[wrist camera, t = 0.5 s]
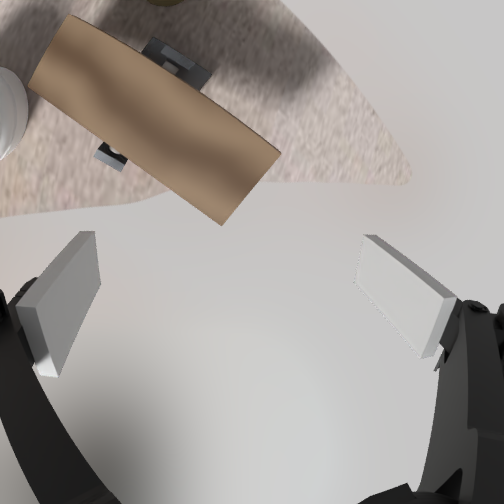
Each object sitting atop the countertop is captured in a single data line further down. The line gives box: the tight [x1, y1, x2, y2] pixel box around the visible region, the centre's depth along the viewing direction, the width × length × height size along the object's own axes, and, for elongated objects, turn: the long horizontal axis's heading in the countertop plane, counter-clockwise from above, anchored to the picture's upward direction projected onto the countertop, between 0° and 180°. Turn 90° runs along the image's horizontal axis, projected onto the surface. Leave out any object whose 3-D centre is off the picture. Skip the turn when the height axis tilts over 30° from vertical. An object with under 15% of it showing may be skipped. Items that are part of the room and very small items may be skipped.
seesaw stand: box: [93, 37, 212, 172], centre depth 28 cm, size 12×8×10 cm
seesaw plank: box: [27, 14, 281, 226], centre depth 24 cm, size 9×24×2 cm, turn 51°
